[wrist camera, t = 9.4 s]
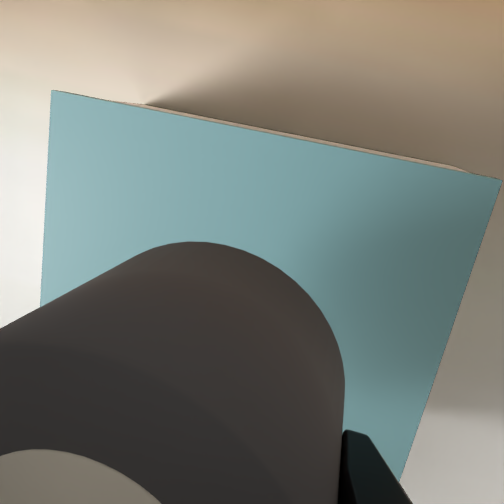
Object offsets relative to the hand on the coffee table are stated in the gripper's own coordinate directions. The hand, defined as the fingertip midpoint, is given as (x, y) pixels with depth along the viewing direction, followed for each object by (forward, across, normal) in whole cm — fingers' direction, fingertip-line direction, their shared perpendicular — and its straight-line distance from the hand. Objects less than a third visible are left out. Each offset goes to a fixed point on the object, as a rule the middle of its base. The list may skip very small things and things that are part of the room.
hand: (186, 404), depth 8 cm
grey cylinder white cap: (+1, 0, 0) cm, 1 cm away
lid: (+6, +1, 0) cm, 6 cm away
